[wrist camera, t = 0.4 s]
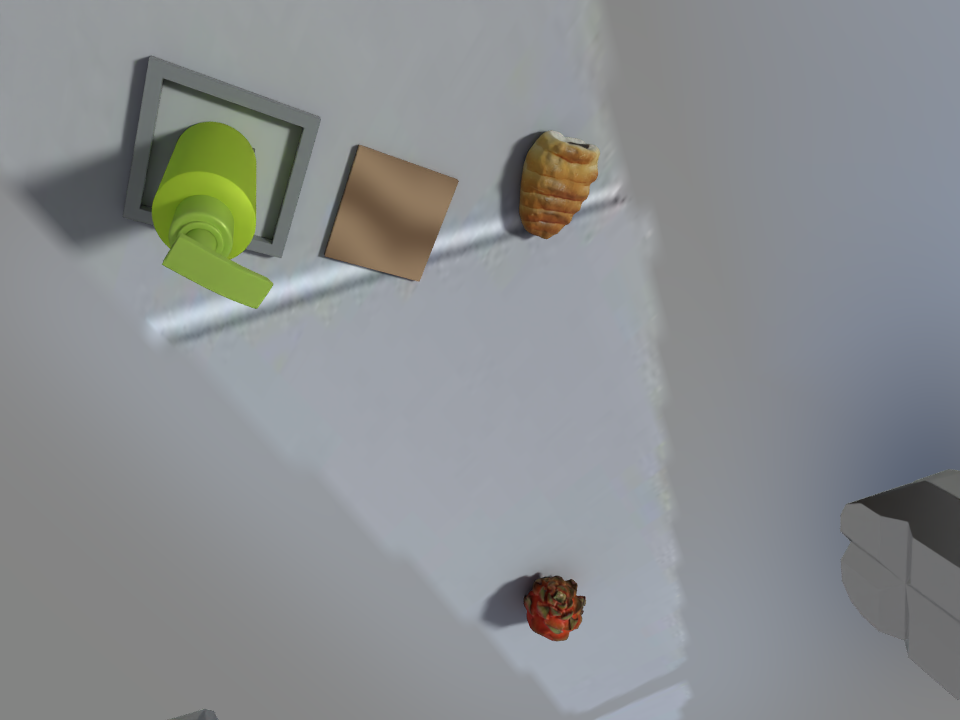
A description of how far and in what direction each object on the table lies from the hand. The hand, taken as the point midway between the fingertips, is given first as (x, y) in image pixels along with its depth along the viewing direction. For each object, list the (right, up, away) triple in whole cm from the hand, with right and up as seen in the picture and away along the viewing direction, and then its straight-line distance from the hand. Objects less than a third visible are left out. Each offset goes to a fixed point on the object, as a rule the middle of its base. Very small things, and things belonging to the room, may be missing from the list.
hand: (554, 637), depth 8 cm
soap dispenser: (-21, +19, +42) cm, 51 cm away
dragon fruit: (+9, -30, +84) cm, 90 cm away
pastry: (+6, +20, +51) cm, 55 cm away
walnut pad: (-9, +16, +48) cm, 51 cm away
